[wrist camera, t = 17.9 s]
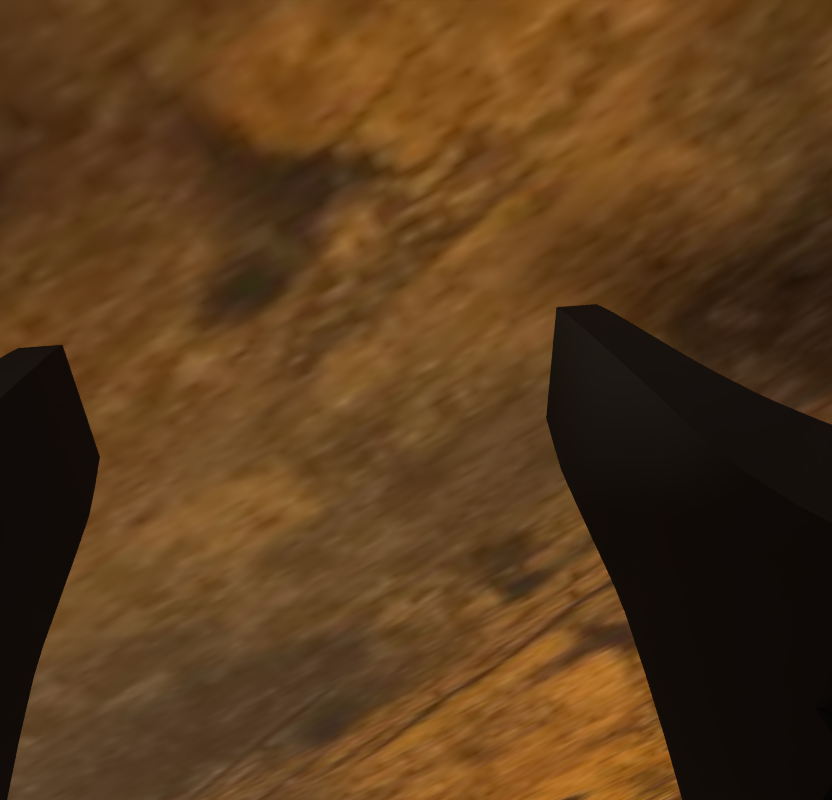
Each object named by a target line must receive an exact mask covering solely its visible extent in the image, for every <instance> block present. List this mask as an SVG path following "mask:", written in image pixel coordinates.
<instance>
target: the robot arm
mask: <svg viewBox="0 0 832 800" xmlns="http://www.w3.org/2000/svg"><path fill="white" fill-rule="evenodd" d="M546 418H547V422H548V426H549V429H550V433H551V436H552V440H553V444H554V447H555V451H556V454H557V457H558V460H559V464H560V467H561V470H562V473H563V475H564V477H565V479H566V482H567V484H568V486H569V488H570V491H571V493H572V495H573V497H574V500H575V502H576V504H577V506H578V508H579V511H580V513H581V515H582V517H583V519H584V521H585V524H586V526H587V528H588V530H589V532H590V534H591V537H592V539H593V541H594V543H595V545H596V547H597V549H598V552H599V554H600V556H601V558H602V560H603V562H604V565H605V567H606V569H607V571H608V573H609V575H610V578H611V580H612V582H613V584H614V586H615V589H616V591H617V594H618V596H619V599H620V601H621V604H622V606H623V609H624V611H625V614H626V617H627V620H628V623H629V626H630V629H631V632H632V635H633V638H634V641H635V644H636V647H637V650H638V653H639V656H640V659H641V662H642V665H643V668H644V671H645V674H646V678H647V681H648V684H649V687H650V691H651V694H652V697H653V700H654V704H655V707H656V710H657V713H658V717H659V720H660V723H661V726H662V730H663V733H664V736H665V740H666V744H667V747H668V751H669V754H670V758H671V761H672V765H673V768H674V772H675V776H676V779H677V783H678V786H679V790H680V793H681V797H682V800H832V425H831V424H828V423H826V422H823V421H820V420H818V419H816V418H813V417H811V416H808V415H806V414H804V413H801V412H799V411H796V410H794V409H792V408H789V407H787V406H784V405H782V404H779V403H777V402H775V401H773V400H771V399H768V398H766V397H764V396H762V395H760V394H758V393H755V392H753V391H751V390H749V389H747V388H746V387H744V386H742V385H740V384H738V383H736V382H734V381H732V380H730V379H728V378H726V377H724V376H722V375H720V374H718V373H716V372H714V371H713V370H711V369H709V368H707V367H705V366H703V365H702V364H700V363H698V362H696V361H694V360H693V359H691V358H689V357H687V356H686V355H684V354H682V353H680V352H679V351H677V350H675V349H674V348H672V347H670V346H669V345H667V344H665V343H663V342H662V341H660V340H658V339H657V338H655V337H653V336H652V335H650V334H648V333H647V332H645V331H644V330H642V329H640V328H639V327H637V326H635V325H634V324H632V323H630V322H629V321H627V320H625V319H623V318H622V317H620V316H618V315H616V314H615V313H613V312H611V311H609V310H607V309H605V308H603V307H601V306H599V305H597V304H594V305H581V306H567V307H557V308H556V319H555V330H554V340H553V351H552V362H551V373H550V384H549V394H548V405H547V416H546ZM99 459H100V456H99V453H98V450H97V447H96V444H95V441H94V438H93V435H92V432H91V429H90V426H89V423H88V420H87V417H86V414H85V411H84V408H83V405H82V402H81V399H80V396H79V393H78V390H77V387H76V384H75V381H74V378H73V375H72V372H71V369H70V366H69V363H68V360H67V357H66V354H65V351H64V348H63V345H54V346H41V347H28V348H18V349H16V350H14V351H12V352H10V353H8V354H6V355H5V356H3V357H1V358H0V800H7V797H8V792H9V787H10V782H11V777H12V773H13V768H14V763H15V758H16V753H17V748H18V743H19V738H20V734H21V730H22V725H23V721H24V717H25V712H26V708H27V704H28V699H29V695H30V691H31V686H32V682H33V678H34V674H35V671H36V668H37V664H38V661H39V658H40V655H41V651H42V648H43V645H44V642H45V639H46V637H47V634H48V631H49V628H50V625H51V623H52V620H53V617H54V614H55V611H56V609H57V606H58V603H59V600H60V597H61V595H62V592H63V589H64V586H65V583H66V581H67V578H68V575H69V572H70V570H71V567H72V564H73V561H74V558H75V555H76V553H77V550H78V547H79V544H80V541H81V538H82V535H83V532H84V529H85V526H86V523H87V520H88V517H89V514H90V509H91V504H92V499H93V494H94V489H95V483H96V477H97V471H98V465H99Z"/></svg>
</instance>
